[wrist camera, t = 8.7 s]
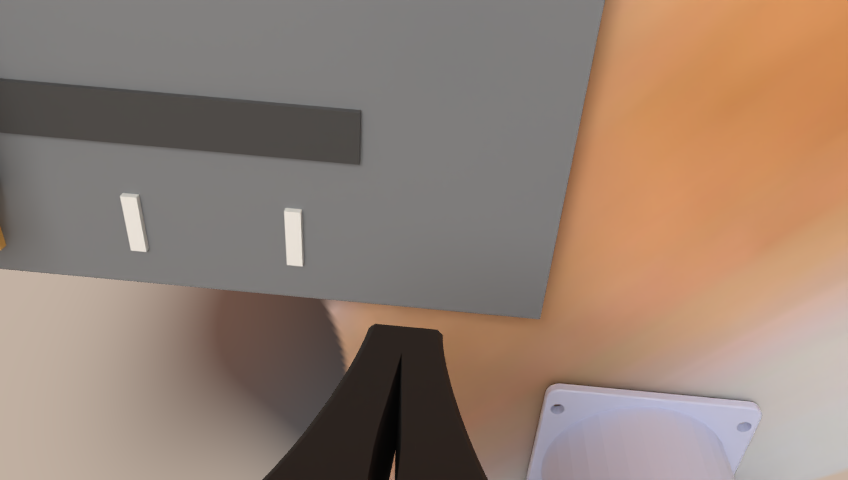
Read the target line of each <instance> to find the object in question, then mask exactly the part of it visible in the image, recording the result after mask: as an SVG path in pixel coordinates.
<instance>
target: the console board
mask: <svg viewBox="0 0 848 480" xmlns="http://www.w3.org/2000/svg"><path fill="white" fill-rule="evenodd" d="M604 2H605V0H0V269H9V270H20V271H30V272H41V273H52V274H62V275H73V276H85V277H94V278H105V279H116V280H127V281H137V282H148V283H159V284H169V285H180V286H190V287H201V288H212V289H222V290H234V291H244V292H254V293H265V294H276V295H287V296H298V297H308V298H318V299H329V300H340V301H350V302H361V303H372V304H382V305H393V306H404V307H414V308H425V309H436V310H446V311H457V312H468V313H478V314H489V315H500V316H510V317H521V318H532V319H540V317H541V312H542V307H543V302H544V297H545V292H546V287H547V282H548V277H549V272H550V267H551V263H552V258H553V253H554V248H555V243H556V238H557V233H558V228H559V223H560V218H561V213H562V208H563V203H564V199H565V194H566V189H567V184H568V179H569V174H570V169H571V164H572V159H573V154H574V149H575V144H576V140H577V135H578V130H579V125H580V120H581V115H582V110H583V105H584V100H585V95H586V90H587V85H588V81H589V76H590V71H591V66H592V61H593V56H594V51H595V46H596V41H597V36H598V31H599V26H600V22H601V17H602V12H603V7H604Z"/></svg>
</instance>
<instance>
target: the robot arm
mask: <svg viewBox="0 0 848 480" xmlns="http://www.w3.org/2000/svg"><path fill="white" fill-rule="evenodd" d="M555 404H560V406H553V405H555ZM761 418H762V413H761V411H760V409H759V406H758V405H757V404H756V403H754V402H749V401H739V400H729V399H718V398H708V397H697V396H687V395H676V394H666V393H655V392H645V391H634V390H624V389H613V388H603V387H592V386H582V385H572V384H554V385H551V386H550V387H548V388H547V390H546V392H545V397H544V401H543V405H542V410H541V414H540V419H539V423H538V428H537V432H536V436H535V441H534V445H533V450H532V454H531V459H530V463H529V467H528V472H527V476H526V480H735V478H734V474H735V472H736V470H737V468H738V466H739V464H740V462H741V460H742V458H743V456H744V454H745V451H746V449H747V447H748V445H749V443H750V441H751V439H752V437H753V435H754V433H755V431H756V429H757V426H758V424H759V422H760V420H761ZM743 422H745V423H743ZM740 423H743V424H740ZM395 450H396V453H395ZM394 454H395V480H488V479H487V477H486V475H485V473H484V471H483V469H482V467H481V465H480V462H479V460H478V458H477V456H476V453H475V451H474V449H473V446H472V444H471V441H470V439H469V436H468V434H467V431H466V429H465V426H464V423H463V421H462V418H461V415H460V412H459V409H458V406H457V403H456V400H455V397H454V394H453V390H452V387H451V383H450V379H449V375H448V371H447V367H446V362H445V357H444V350H443V335H442V334H441V333H440V332H439V331H438V330H433V329H423V328H412V327H402V326H391V325H380V324H374V325H373V326H371V327H370V328H369V329H368V332H367V334H366V337H365V339H364V341H363V343H362V345H361V347H360V349H359V351H358V353H357V355H356V357H355V359H354V360H353V362H352V364H351V366H350V367H349V369H348V371H347V372H346V374H345V376H344V377H343V379H342V380H341V382H340V383H339V385H338V386H337V388H336V389H335V391H334V392H333V394H332V396H331V397H330V399H329V400H328V401H327V403H326V405H325V406H324V407H323V408H322V410H321V411H320V412H319V414H318V415H317V416H316V418H315V419H314V420H313V422H312V423H311V424H310V426H309V427H308V428H307V430H306V431H305V432H304V434H303V435H302V436H301V437H300V438H299V440H298V441H297V442H296V443H295V444H294V446H293V447H292V448H291V449H290V450H289V451H288V453H287V454H286V455H285V456H284V457H283V458H282V459H281V460H280V462H279V463H278V464H277V465H276V466H275V467H274V468H273V469H272V470H271V471H270V472H269V474H268V475H266V476H265V478H264V479H263V480H389V477H390V473H391V468H392V464H393V459H394Z"/></svg>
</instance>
